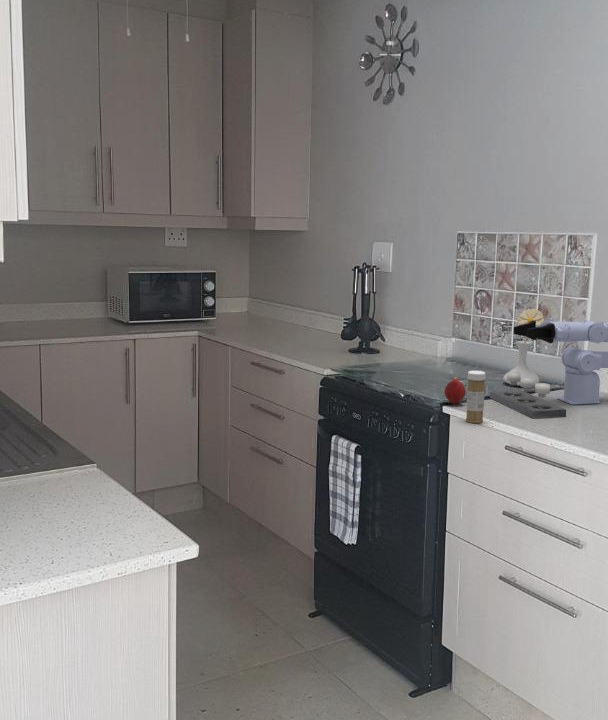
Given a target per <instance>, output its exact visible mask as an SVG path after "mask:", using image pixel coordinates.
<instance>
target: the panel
mask: <svg viewBox="0 0 608 720" xmlns="http://www.w3.org/2000/svg"><path fill="white" fill-rule="evenodd" d="M489 398H490V399H491V400H493V401H495V402H498V403H499V404H502V405H503V406H506V407H508V408H510V409H512V410H515V411H516V412H519V413H520V414H523V415H524V416H527V417H529V418H531V419H545V418H546V419H549V418H550V419H551V418H564V417H567V409H566V408H564V407H561V406H559V405H557V404H554V403H552V402H550V401H547V400H545V399H543V398H542V397H538V396H536V395H534V394H531V393H528V391H524V390H522V389H514V390H513V389H511V390H491V391H489Z"/></svg>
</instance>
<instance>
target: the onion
mask: <svg viewBox="0 0 608 720" xmlns="http://www.w3.org/2000/svg"><path fill="white" fill-rule="evenodd" d="M465 396H466V388H465V385H464V384H463V383H462V382H461V381H460V380H459V377H458V376H456V377H454V378H452V380H451V381H449V382H448V383H447V385H446V386H445V388H444V397H445V398H446V399H447V400H448V401H449V402H450V403H451V404H452V405H457V404H458V403H460V402H461V401H462V400H463V399H464V398H465Z"/></svg>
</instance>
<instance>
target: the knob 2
mask: <svg viewBox="0 0 608 720" xmlns="http://www.w3.org/2000/svg"><path fill="white" fill-rule="evenodd" d="M534 393H535V394H537V395H538V396H537V397H538V398H541V399H543V398H547V397H546V395H549V394H551V384H549V383H544V382H539V383H536V384H535V387H534Z"/></svg>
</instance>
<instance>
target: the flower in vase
mask: <svg viewBox="0 0 608 720" xmlns="http://www.w3.org/2000/svg"><path fill="white" fill-rule="evenodd" d="M543 314H544V313H543V312H541V310H540V311H539V310H538V309H537V308H527V309H526V310H522V313H520V314H519V317H517V320H516V322H518V323H517V326H519V325H524V324H527V323H529V322H530V321H533V320H534V321H536V326H539V325H540V324H542V323H544V321H545V319H544V315H543ZM523 337H524V338H525V341H524V340H519V341H518V340H517V341H515V342H514V343H515V344H516V347H517V349H518V362H517V364H516V366H515V367H514V368H512V369H511V370H509V371H508V372H518V373H521V378H523V377H529V378H534V379H535V384H536V383H540V382H541V380H540V378H539V376H538V375H537V374H536V373H534V371H533V370H531V369H530V368H529V366H528V364H527V355H528V350H529V347H530V346H531V345H532V342H531V341H528V340H529V339H530V338H528V337H526V336H523ZM535 341H541V339H536V340H535ZM502 380H503V381H504V382H505V383H507V384H509V385H510V381H507V373H505V374H504V375H503V377H502ZM516 386H518V387H519V386H520V382H517V385H516ZM520 387H521V386H520Z"/></svg>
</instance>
